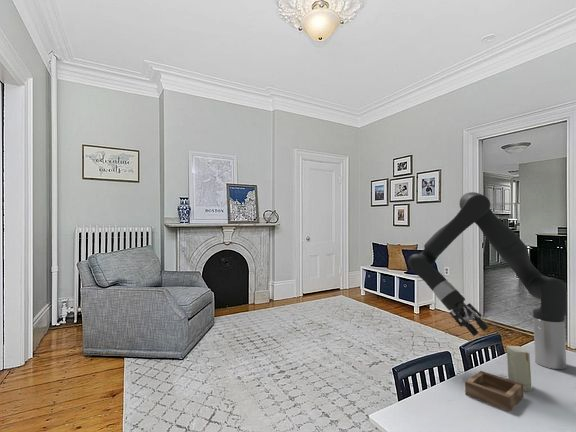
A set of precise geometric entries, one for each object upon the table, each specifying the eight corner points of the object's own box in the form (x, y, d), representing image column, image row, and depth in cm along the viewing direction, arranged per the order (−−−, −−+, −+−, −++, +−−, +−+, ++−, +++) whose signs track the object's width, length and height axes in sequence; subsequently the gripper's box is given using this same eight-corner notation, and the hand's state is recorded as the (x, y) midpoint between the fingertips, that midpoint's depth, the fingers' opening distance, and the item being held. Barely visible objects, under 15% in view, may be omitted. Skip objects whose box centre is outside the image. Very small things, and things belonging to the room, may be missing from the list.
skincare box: (532, 391, 100) (530, 353, 101) (517, 390, 101) (515, 352, 102) (521, 382, 107) (520, 345, 107) (507, 381, 107) (505, 345, 108)
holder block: (481, 382, 107) (480, 370, 107) (523, 397, 97) (522, 384, 97) (465, 394, 99) (465, 381, 100) (509, 411, 90) (509, 397, 90)
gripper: (446, 291, 116) (481, 330, 107) (463, 286, 125) (497, 322, 115) (432, 303, 120) (465, 342, 111) (450, 297, 129) (482, 333, 119)
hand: (481, 332), depth 113 cm, fingers open, 8 cm apart
